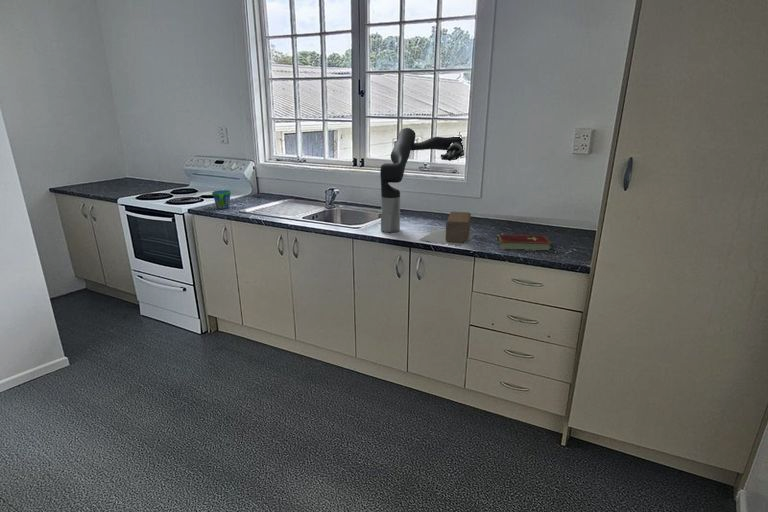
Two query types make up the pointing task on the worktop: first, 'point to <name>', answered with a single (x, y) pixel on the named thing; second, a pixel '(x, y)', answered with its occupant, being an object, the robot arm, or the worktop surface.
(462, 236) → the wooden block
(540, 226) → the worktop surface
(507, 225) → the worktop surface
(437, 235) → the grey mat
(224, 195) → the snack cup
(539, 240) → the hardcover book
